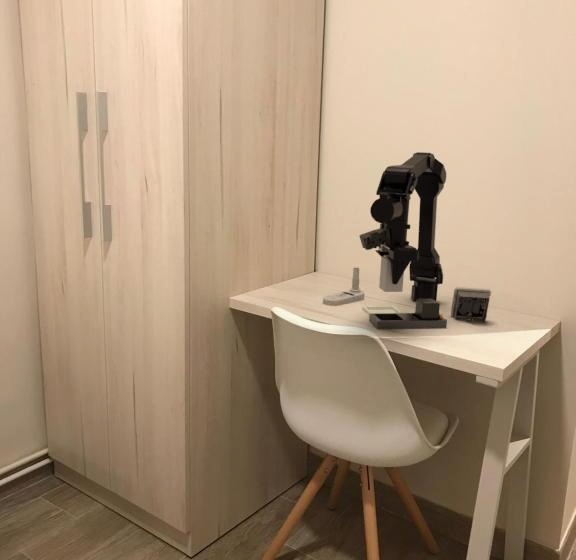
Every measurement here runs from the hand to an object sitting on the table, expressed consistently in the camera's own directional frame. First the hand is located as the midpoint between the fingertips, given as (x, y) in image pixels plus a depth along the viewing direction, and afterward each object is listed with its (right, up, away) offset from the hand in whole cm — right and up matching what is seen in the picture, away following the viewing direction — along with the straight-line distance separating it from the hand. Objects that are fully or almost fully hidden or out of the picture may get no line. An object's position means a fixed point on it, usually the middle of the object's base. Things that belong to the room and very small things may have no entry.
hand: (391, 281), depth 154 cm
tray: (0, -9, +13) cm, 16 cm away
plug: (0, -2, 0) cm, 2 cm away
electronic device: (-10, -6, +25) cm, 27 cm away
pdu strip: (+4, -11, +3) cm, 13 cm away
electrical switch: (+23, -11, +10) cm, 27 cm away
